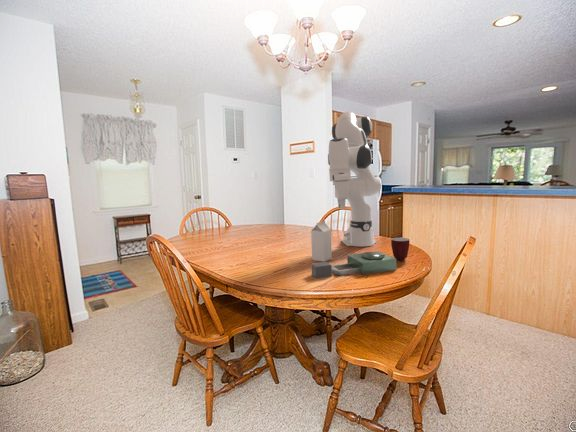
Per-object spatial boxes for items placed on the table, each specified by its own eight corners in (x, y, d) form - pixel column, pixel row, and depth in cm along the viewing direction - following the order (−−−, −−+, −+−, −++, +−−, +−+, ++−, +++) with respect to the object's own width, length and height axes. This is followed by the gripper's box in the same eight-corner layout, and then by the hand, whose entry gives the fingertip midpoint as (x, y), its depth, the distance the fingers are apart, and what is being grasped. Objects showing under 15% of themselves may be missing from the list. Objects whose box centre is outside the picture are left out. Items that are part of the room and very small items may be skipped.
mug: (411, 264, 137) (411, 242, 136) (392, 263, 139) (392, 242, 138) (407, 257, 147) (408, 237, 146) (390, 257, 149) (390, 237, 148)
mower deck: (327, 268, 137) (327, 255, 136) (378, 261, 143) (378, 249, 143) (340, 278, 123) (340, 264, 123) (396, 269, 130) (396, 256, 129)
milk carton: (331, 258, 151) (330, 221, 149) (324, 262, 146) (323, 223, 143) (319, 256, 156) (318, 220, 153) (312, 260, 150) (310, 222, 148)
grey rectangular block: (311, 275, 129) (311, 263, 128) (327, 272, 131) (326, 261, 130) (315, 278, 124) (315, 267, 124) (331, 276, 126) (331, 264, 125)
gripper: (330, 177, 139) (332, 207, 140) (334, 176, 118) (336, 211, 120) (344, 176, 138) (346, 206, 140) (350, 175, 118) (352, 210, 119)
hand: (341, 209), depth 129 cm, fingers open, 8 cm apart
